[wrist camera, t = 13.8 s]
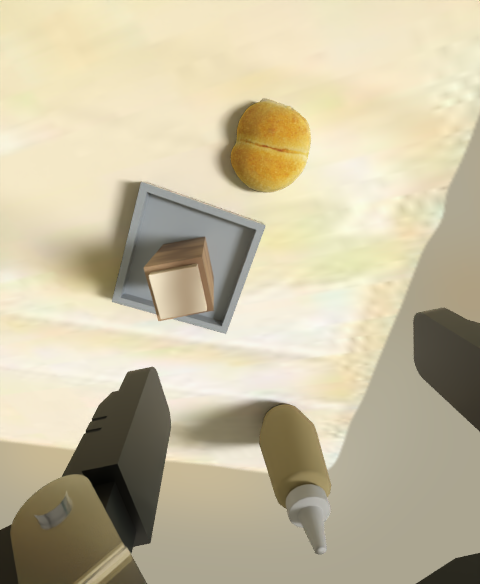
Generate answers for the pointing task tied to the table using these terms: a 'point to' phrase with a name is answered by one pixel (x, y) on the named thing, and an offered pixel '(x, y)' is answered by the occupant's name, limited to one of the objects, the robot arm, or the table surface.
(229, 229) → the tray
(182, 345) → the table surface
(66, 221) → the table surface
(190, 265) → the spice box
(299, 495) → the squeeze bottle
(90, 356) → the table surface
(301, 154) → the bread roll
